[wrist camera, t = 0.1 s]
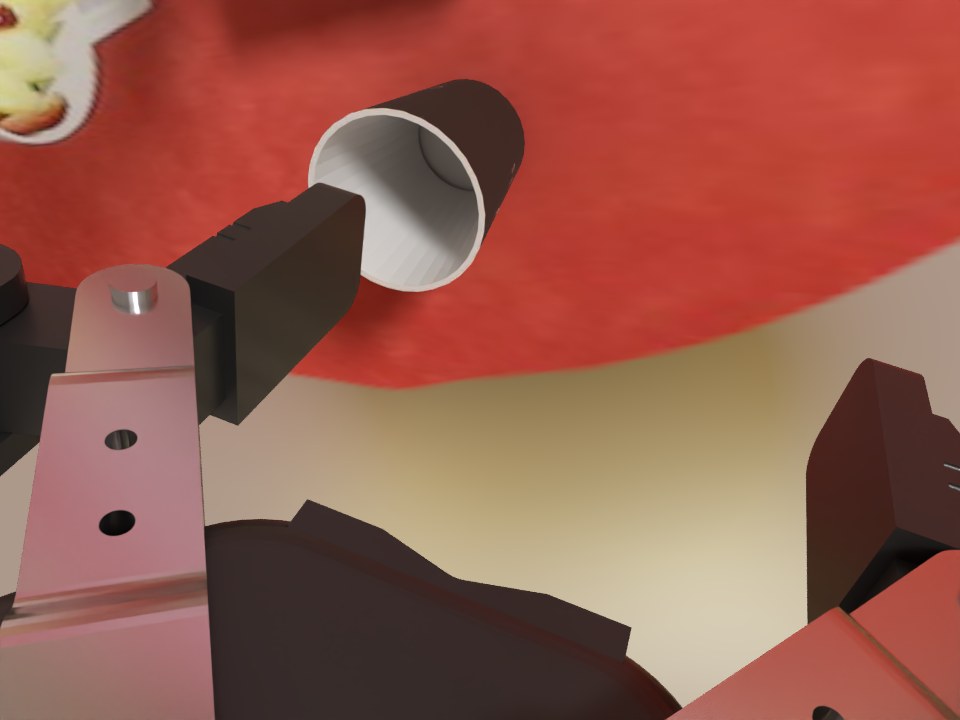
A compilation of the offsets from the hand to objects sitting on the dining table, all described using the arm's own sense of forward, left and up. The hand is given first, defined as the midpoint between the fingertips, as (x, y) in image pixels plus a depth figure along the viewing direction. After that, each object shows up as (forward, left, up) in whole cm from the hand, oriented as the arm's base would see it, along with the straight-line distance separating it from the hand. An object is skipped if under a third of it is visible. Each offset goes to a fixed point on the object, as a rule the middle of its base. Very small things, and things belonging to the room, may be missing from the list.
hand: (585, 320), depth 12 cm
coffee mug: (+10, -12, -29) cm, 33 cm away
